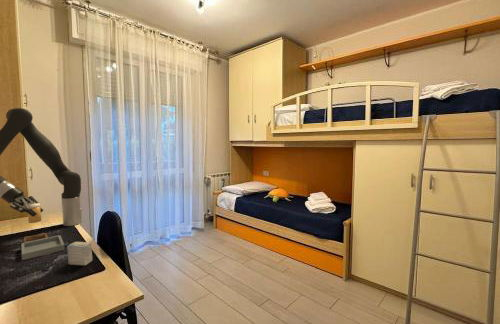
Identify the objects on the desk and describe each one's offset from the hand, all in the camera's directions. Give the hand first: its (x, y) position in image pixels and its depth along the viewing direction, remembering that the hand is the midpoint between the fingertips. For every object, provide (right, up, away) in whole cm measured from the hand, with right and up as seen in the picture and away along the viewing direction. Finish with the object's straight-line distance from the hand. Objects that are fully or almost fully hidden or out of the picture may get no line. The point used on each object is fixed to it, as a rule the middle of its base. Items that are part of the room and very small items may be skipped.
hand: (38, 213), depth 125 cm
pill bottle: (-2, -4, 0) cm, 5 cm away
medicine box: (+36, -18, -19) cm, 44 cm away
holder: (-2, -15, +1) cm, 15 cm away
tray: (+9, -16, -8) cm, 20 cm away
